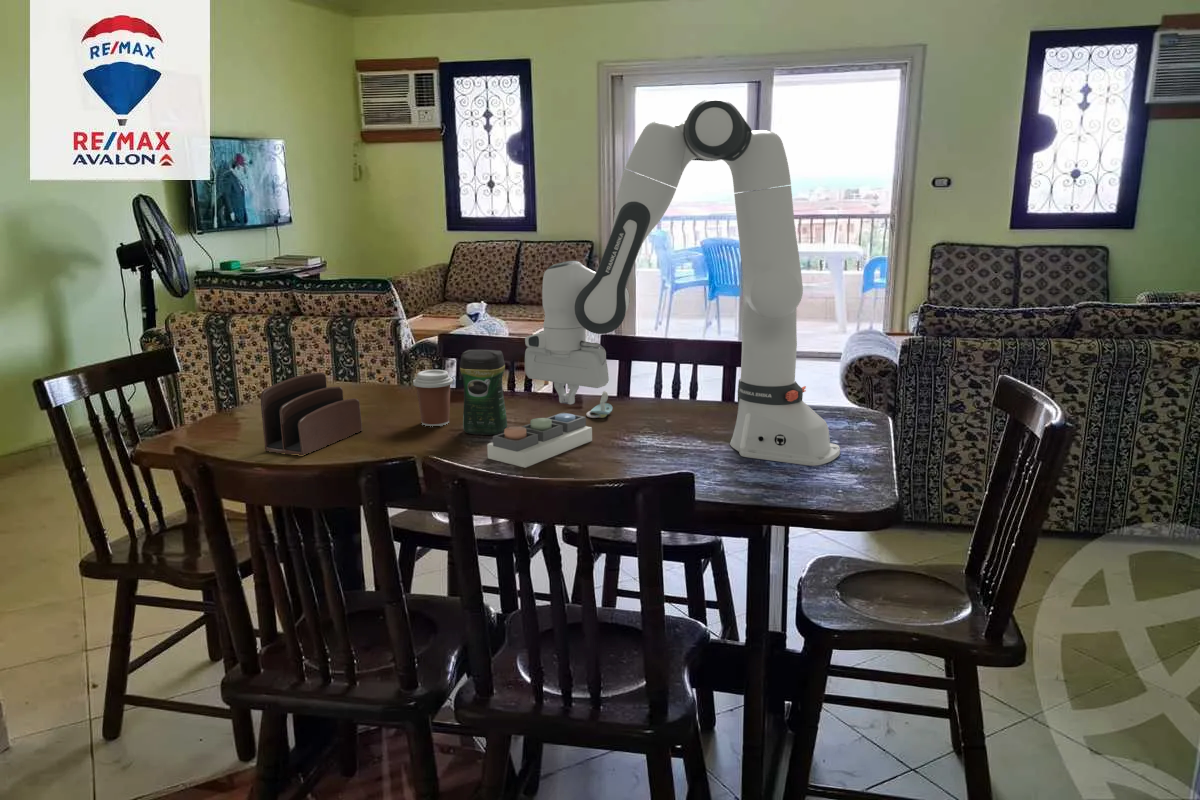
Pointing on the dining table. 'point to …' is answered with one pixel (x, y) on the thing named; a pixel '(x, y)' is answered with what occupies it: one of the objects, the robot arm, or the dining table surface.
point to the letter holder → (307, 415)
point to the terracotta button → (515, 433)
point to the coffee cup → (433, 396)
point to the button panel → (540, 442)
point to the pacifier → (601, 408)
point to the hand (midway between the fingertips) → (567, 403)
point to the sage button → (541, 424)
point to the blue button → (565, 417)
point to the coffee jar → (483, 392)
